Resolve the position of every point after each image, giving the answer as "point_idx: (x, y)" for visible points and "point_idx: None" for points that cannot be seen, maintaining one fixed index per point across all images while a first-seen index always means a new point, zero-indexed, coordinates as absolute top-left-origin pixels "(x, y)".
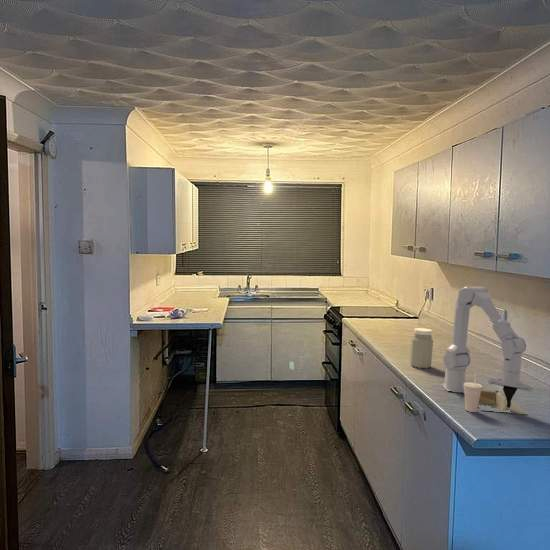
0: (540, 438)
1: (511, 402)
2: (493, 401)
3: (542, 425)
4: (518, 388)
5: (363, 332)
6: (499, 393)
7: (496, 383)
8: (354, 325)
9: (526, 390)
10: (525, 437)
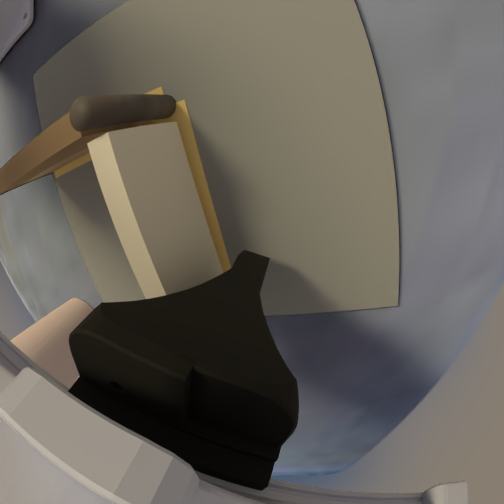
0: (328, 472)
1: (312, 14)
2: (138, 126)
3: (400, 410)
4: (281, 495)
5: None
6: (114, 166)
7: (8, 368)
8: None
9: (381, 501)
10: (283, 471)
